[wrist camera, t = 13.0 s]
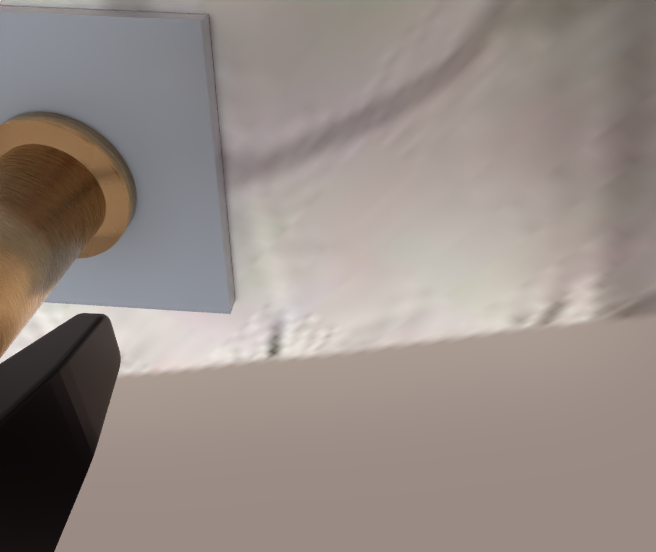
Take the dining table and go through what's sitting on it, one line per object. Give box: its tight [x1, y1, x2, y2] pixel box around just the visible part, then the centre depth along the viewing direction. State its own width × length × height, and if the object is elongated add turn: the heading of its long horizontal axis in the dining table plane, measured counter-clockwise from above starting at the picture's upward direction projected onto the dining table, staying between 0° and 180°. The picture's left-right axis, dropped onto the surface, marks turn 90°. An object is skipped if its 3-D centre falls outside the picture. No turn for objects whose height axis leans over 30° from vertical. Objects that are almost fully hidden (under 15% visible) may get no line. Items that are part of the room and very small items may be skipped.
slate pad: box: [0, 5, 235, 314], centre depth 21 cm, size 12×12×1 cm
